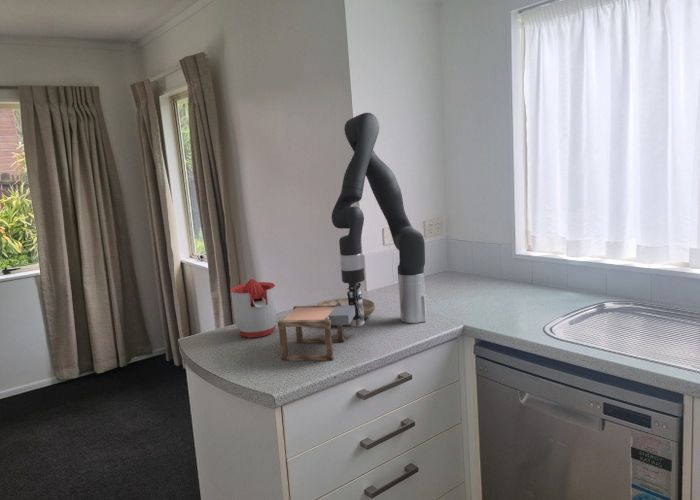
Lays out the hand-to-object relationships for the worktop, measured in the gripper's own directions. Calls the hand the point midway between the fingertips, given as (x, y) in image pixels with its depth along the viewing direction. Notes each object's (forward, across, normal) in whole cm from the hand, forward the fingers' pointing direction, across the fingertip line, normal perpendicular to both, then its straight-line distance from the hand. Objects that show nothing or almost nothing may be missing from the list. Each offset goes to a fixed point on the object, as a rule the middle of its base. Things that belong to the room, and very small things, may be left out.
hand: (356, 316), depth 185 cm
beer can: (+3, 0, 0) cm, 3 cm away
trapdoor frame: (+6, -13, +12) cm, 19 cm away
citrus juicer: (+6, +4, +37) cm, 38 cm away
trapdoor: (-3, -13, +9) cm, 17 cm away
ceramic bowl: (+7, +22, +8) cm, 24 cm away
